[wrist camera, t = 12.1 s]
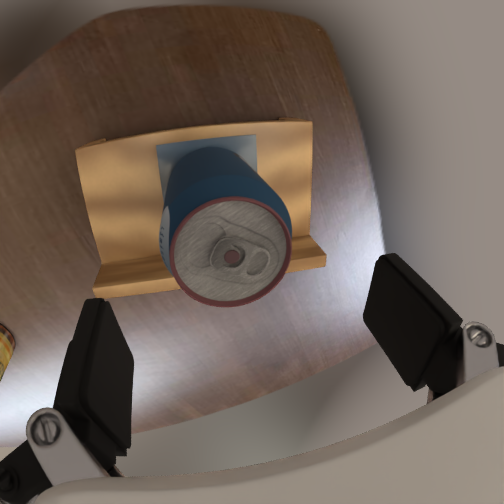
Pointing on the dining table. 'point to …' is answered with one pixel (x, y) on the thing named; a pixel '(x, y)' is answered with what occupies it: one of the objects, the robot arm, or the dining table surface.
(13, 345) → the sauce bottle
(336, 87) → the dining table surface
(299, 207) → the wooden block with lip
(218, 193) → the soda can
